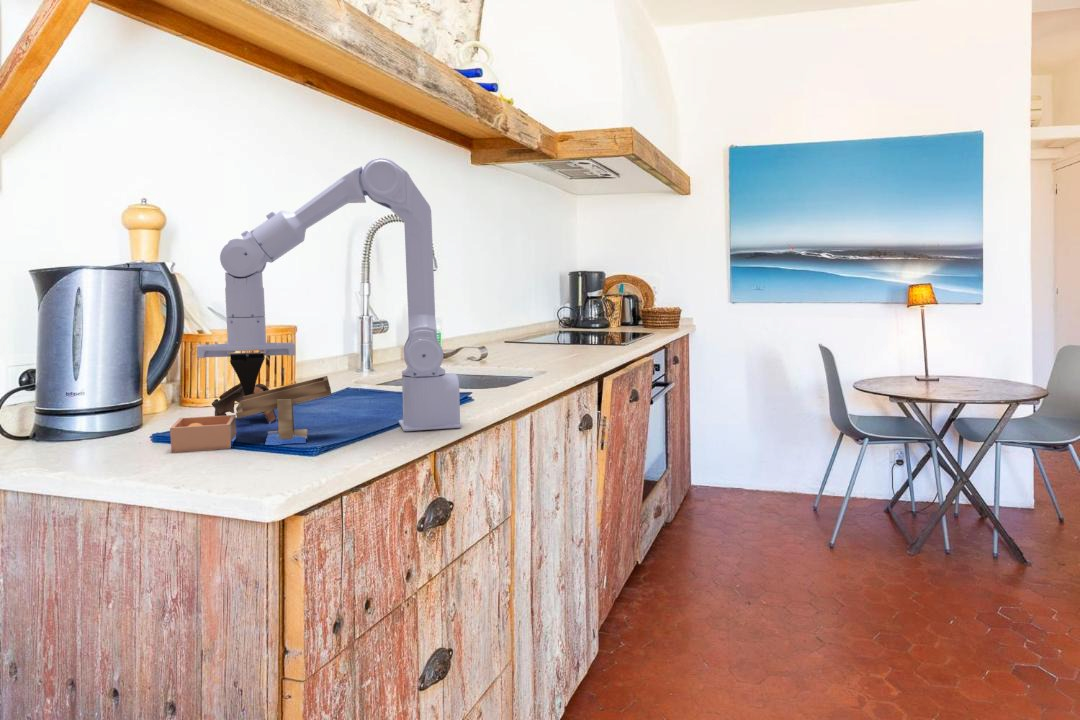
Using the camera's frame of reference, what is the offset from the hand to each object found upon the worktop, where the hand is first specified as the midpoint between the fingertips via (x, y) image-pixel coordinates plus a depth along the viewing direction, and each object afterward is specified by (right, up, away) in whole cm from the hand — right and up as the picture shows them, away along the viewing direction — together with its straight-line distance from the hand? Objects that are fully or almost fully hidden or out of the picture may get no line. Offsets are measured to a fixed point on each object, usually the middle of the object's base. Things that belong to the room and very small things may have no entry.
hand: (249, 401), depth 117 cm
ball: (-5, -4, -7) cm, 10 cm away
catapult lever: (+6, 0, -1) cm, 6 cm away
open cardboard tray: (-4, -6, -7) cm, 10 cm away
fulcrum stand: (+7, -6, -3) cm, 10 cm away
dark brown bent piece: (-5, -4, +12) cm, 13 cm away
